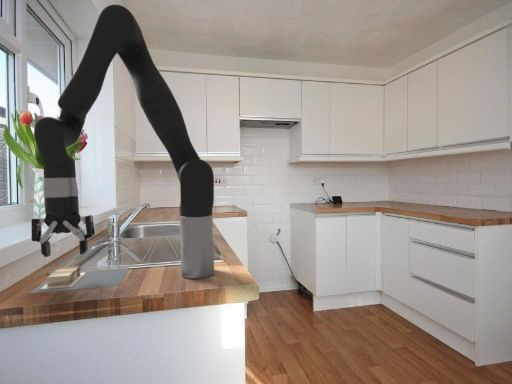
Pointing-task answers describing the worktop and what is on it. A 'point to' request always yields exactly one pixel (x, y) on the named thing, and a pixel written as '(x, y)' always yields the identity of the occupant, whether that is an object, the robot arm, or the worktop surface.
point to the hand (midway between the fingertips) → (65, 255)
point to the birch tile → (63, 276)
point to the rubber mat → (88, 280)
